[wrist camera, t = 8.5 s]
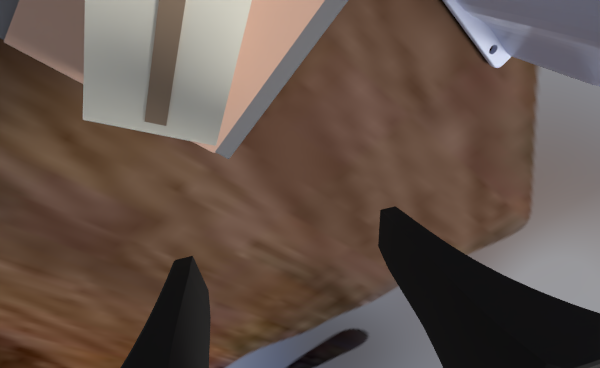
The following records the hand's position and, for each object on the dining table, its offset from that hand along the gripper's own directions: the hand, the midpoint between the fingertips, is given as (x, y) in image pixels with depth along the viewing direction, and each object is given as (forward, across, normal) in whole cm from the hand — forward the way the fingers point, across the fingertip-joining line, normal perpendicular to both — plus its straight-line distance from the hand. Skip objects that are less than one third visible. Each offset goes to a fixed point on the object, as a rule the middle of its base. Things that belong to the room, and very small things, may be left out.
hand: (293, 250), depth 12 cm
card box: (+9, +3, -7) cm, 12 cm away
